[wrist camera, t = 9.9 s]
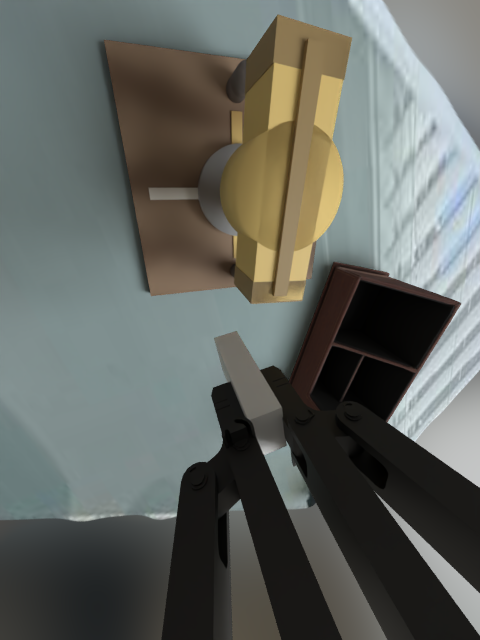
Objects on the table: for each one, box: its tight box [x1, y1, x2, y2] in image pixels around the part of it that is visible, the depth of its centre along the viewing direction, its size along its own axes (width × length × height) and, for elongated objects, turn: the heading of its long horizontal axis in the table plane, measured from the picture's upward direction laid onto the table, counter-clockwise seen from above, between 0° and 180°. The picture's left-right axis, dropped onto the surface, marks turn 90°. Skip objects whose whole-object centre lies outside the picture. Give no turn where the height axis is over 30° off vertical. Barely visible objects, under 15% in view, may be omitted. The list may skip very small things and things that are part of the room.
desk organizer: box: [289, 262, 461, 422], centre depth 36 cm, size 10×29×11 cm, turn 166°
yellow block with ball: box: [220, 15, 352, 304], centre depth 17 cm, size 14×7×5 cm, turn 176°
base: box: [104, 40, 316, 296], centre depth 22 cm, size 20×20×8 cm
